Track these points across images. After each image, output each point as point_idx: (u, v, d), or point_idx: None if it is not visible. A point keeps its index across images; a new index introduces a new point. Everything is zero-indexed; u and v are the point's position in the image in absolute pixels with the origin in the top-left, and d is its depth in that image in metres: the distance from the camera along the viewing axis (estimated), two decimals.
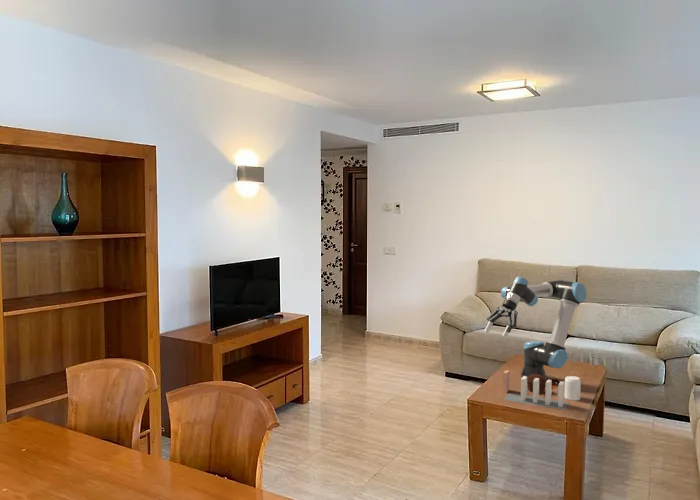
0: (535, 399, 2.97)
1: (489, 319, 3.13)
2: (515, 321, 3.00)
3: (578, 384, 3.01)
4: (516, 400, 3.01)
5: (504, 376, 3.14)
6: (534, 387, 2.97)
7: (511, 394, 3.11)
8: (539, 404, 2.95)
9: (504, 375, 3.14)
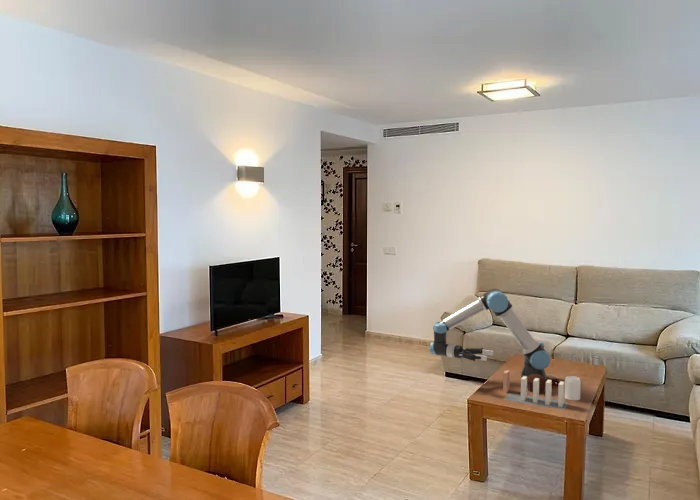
0: (535, 399, 2.97)
1: None
2: (468, 356, 3.18)
3: (578, 384, 3.01)
4: (516, 400, 3.01)
5: (504, 376, 3.14)
6: (534, 387, 2.97)
7: (511, 394, 3.11)
8: (539, 404, 2.95)
9: (504, 375, 3.14)
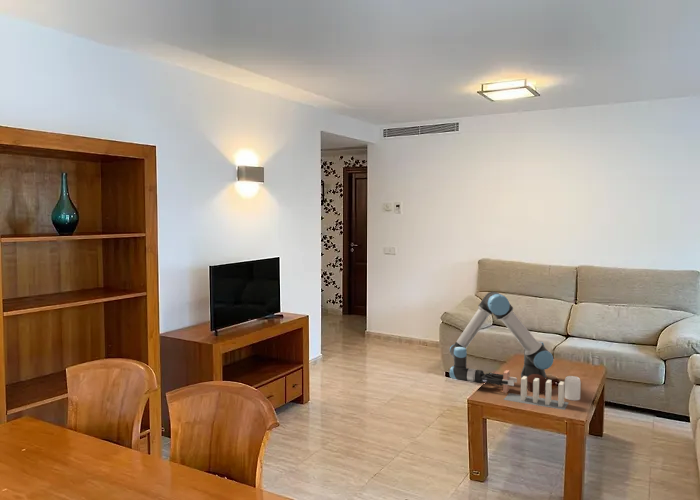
0: (535, 399, 2.97)
1: None
2: (494, 381, 3.14)
3: (578, 384, 3.01)
4: (516, 400, 3.01)
5: (504, 376, 3.14)
6: (534, 387, 2.97)
7: (511, 394, 3.11)
8: (539, 404, 2.95)
9: (504, 375, 3.14)
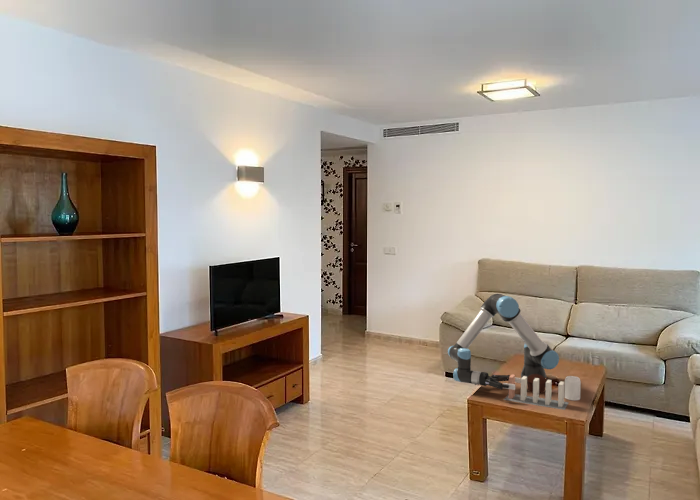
0: (535, 399, 2.97)
1: (507, 380, 3.15)
2: (495, 385, 3.02)
3: (578, 384, 3.01)
4: (516, 400, 3.01)
5: (510, 381, 3.04)
6: (534, 387, 2.97)
7: None
8: (539, 404, 2.95)
9: (510, 379, 3.04)
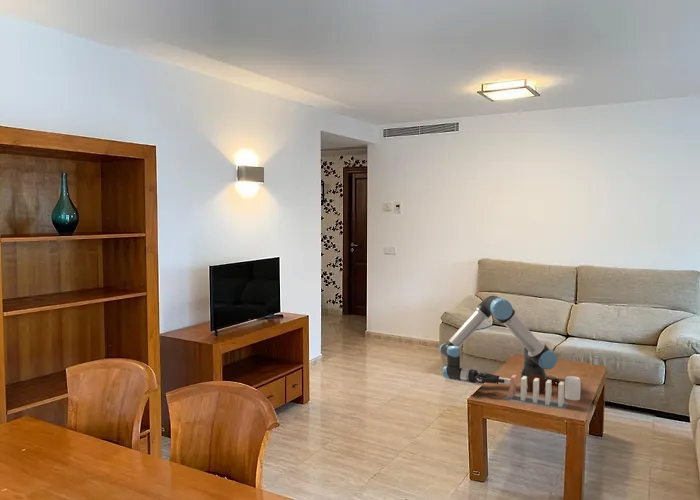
0: (535, 399, 2.97)
1: None
2: (490, 380, 3.08)
3: (578, 384, 3.01)
4: (516, 400, 3.01)
5: (511, 381, 3.03)
6: (534, 387, 2.97)
7: None
8: (539, 404, 2.95)
9: (511, 380, 3.03)
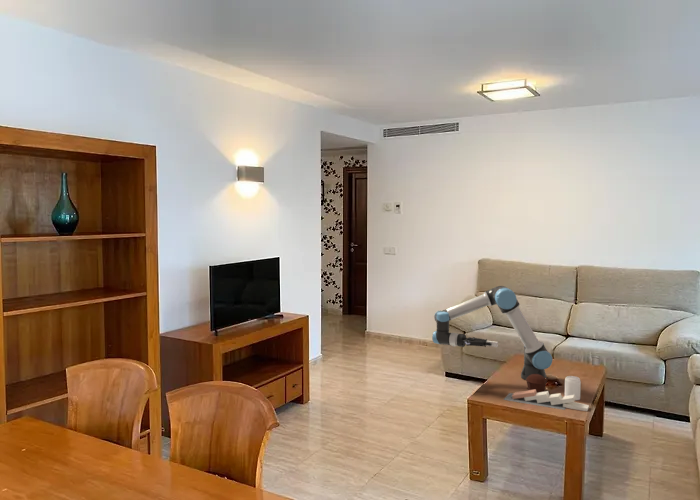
0: (540, 401, 2.96)
1: None
2: (478, 343, 3.17)
3: (578, 384, 3.01)
4: (516, 400, 3.01)
5: (530, 394, 2.99)
6: (552, 398, 2.93)
7: (511, 394, 3.11)
8: (539, 404, 2.95)
9: (531, 393, 2.98)
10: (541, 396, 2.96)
